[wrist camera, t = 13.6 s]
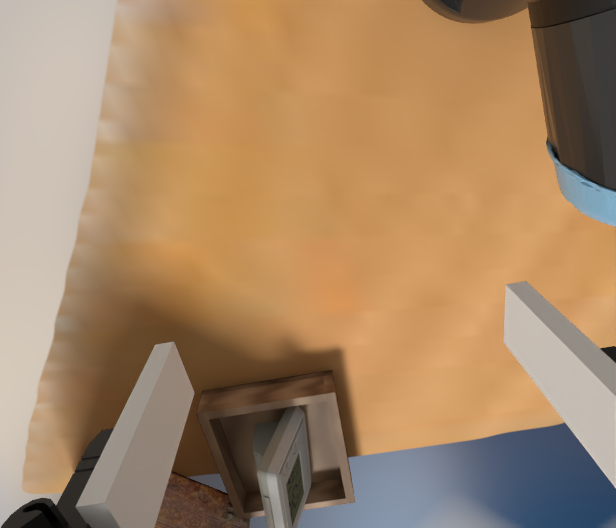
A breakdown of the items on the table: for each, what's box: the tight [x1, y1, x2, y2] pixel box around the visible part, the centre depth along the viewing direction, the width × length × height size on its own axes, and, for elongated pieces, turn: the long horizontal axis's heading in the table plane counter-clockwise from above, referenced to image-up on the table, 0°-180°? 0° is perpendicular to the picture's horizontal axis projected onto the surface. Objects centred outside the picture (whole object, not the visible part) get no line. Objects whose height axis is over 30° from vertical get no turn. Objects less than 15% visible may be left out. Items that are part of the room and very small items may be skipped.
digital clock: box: [253, 405, 311, 528], centre depth 53 cm, size 16×9×11 cm, turn 173°
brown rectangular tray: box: [196, 370, 355, 520], centre depth 56 cm, size 17×21×4 cm
